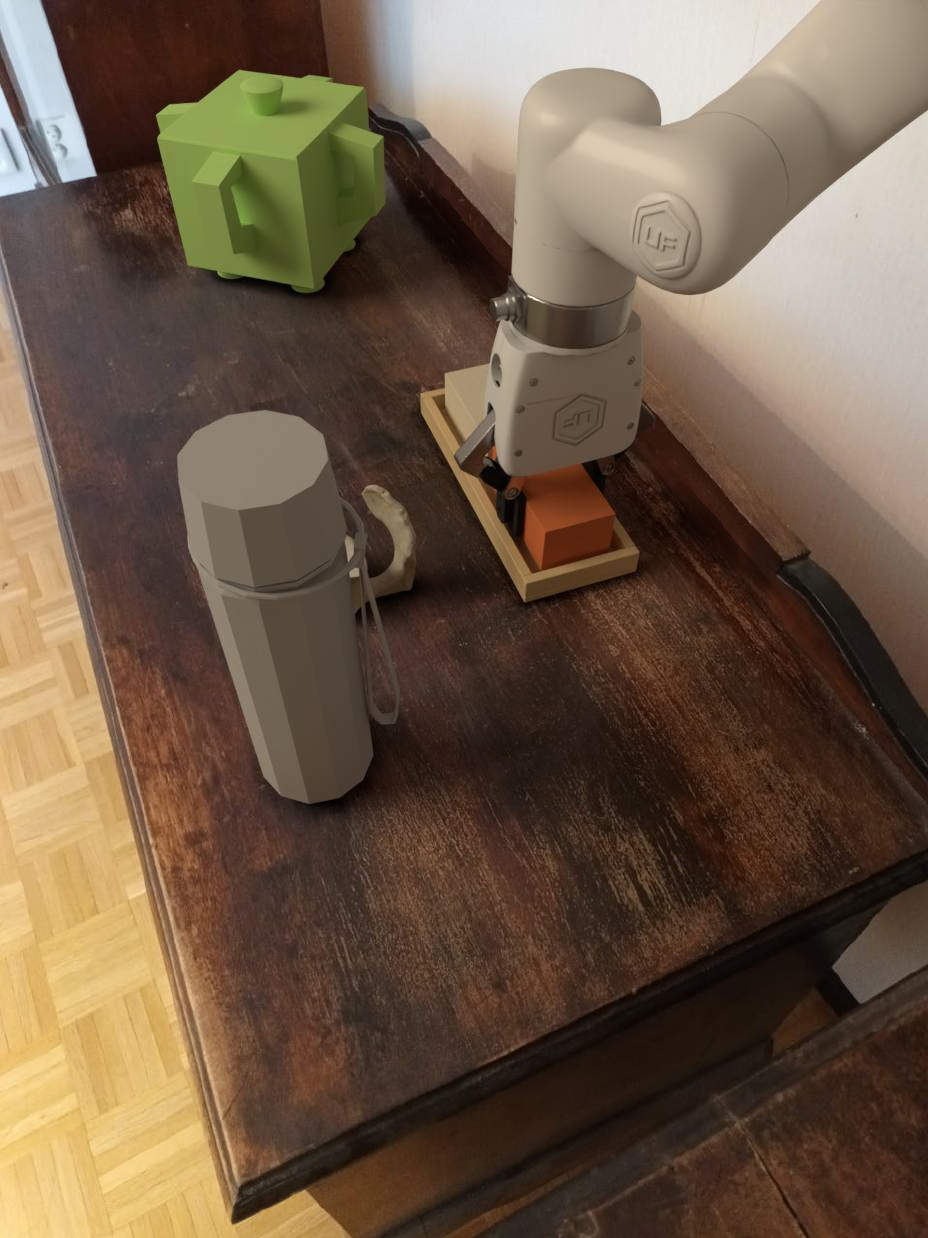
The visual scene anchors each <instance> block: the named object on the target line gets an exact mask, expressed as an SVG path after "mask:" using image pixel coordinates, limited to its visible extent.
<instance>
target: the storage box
mask: <svg viewBox="0 0 928 1238" xmlns="http://www.w3.org/2000/svg"><path fill="white" fill-rule="evenodd" d="M367 94H368V93H367V89H366V88H365V86H358V85H350V84H343V83H337V82H334V80H333V77H327V76H320V75H313V74H312V75H311V74H308V75H305V76H303V77H294V76H289V75H281V74H280V75H279V74H272V73H271V74H270V73H265V72H256V71H250V70H249V71H248V70H242V69H238V70H237V71H235V72H234V73H232V75H230V76H229V77H228V78H226V79H225V80H224V81H223V82H221V83H220V84H218V86H217V87H215V88H214V89H213V90H211V91H210V92H209V93H208V94H206V95H205V96H204V97H203V98H201V99H200V100H199V101H198V102H187V103H186V102H185V103H171V104H168V105H167V106H165V107H164V108H163V109H162V110H161V111H159V112H158V113H157V114H155V118H156V122H157V124H158V128H159V132H160V133H159V134H158V136H157V137H156V140H157V144H158V149H159V152H160V153H159V154H160V157H161V161H162V166H163V169H164V172H165V178H166V182H167V186H168V189H169V194H170V198H171V202H172V206H173V211H174V214H175V218H176V219H175V220H176V222H177V227H178V230H179V235H180V239H181V245H182V248H183V251H184V255H185V259H186V264H187V266H189V267H193V268H199V269H204V270H211V271H216V272H217V275H218V276H219V277H221V278H223V279H228V280H235V279H241V278H243V277H249V278H254V279H259V280H264V281H269V282H275V283H281V284H286V285H290V286H291V287H290V288H292V290H294V291H296V292H298V293H302V294H310V293H311V294H312V293H314V292H318V291H320V290H322V289H323V287H325V283H326V282H325V279H324V277H325V276H326V275H327V273H329V271H330V270H331V269H332V267H333V266H334V265H335V263H336V262H337V261H338V260H339V258H340V257H341V256H342V255H343V253H346V252H348V251H351V250H353V249H354V248H356V247H355V246H356V241H355V238H356V237H357V236H358V234H359V233H360V232H361V230H363V228H364V227H365V225H367V223H368V222H369V220H370V219H371V218H373V217H376V216H377V215H378V214H379V213H380V211H381V210H382V209H383V207H384V206H385V205H386V202H387V201H386V176H385V175H386V171H385V169H386V168H385V144H384V143H385V139H384V135H381V134H378V133H375V132H372V131H370V123H369V108H368V96H367Z"/></svg>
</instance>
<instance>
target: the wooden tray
mask: <svg viewBox="0 0 928 1238" xmlns="http://www.w3.org/2000/svg"><path fill="white" fill-rule="evenodd" d="M419 398H420V413H421V415H422V417H423V419H424V421H425V423H426V424H427V426H428V428H429V430H430V431H431V433H432V435H433V438H434V439H435V441H436V443H437V444H438V446H439V448H440V450H441V452H442V454H443V456H444V457H445V459H446V461H447V463H448V465H449V466H450V469H451V470H452V472H453V474H454V476H455V477H456V480H457V481H458V483H459V485H460V487H461V489H462V490H463V492H464V494H465V496H466V498H467V500H468V502H469V503H470V505H471V507H472V509H473V511H474V512H475V514H476V516H477V518H478V520H479V522H480V523H481V525H482V527H483V529H484V531H485V532H486V535H487V536H488V539H489V540H490V542H491V544H492V546H493V547H494V549H495V552H496V553H497V555H498V557H499V559H500V560H501V562H502V564H503V565H504V568H505V569H506V571H507V573H508V575H509V577H510V579H511V580H512V582H513V584H514V586H515V588H516V589H517V590H516V591H518V594H519V595H520V597H521V600H522V601H523V602H524V603H528V602H533V601H537V600H539V599H543V598H547V597H551V596H553V595H556V594H557V595H558V594H560V593H564V592H567V591H571V590H575V589H577V588H578V589H579V588H581V587H585V586H589V585H592V584H596V583H600V582H602V581H607V580H610V579H613V578H618V577H621V576H625V575H628V574H632V573H635V572H637V567H638V562H639V558H640V550H639V549H638V547H637V546H636V545H635V542H634V541H633V540H632V538H631V537H630V536H629V534H628V533H627V531H626V529H625V528H624V527H623V525H622V524H621V523H620V520H619V519H618V518H617V516H616V515H615V520H614V525H613V531H612V537H611V542H610V548H609V552H608V553H605V554H601V555H598V556H594V557H590V558H587V559H583V560H579V561H576V562H572V563H569V564H565V565H561V566H558V567H554V568H551V569H547V570H543V571H541V570H540V568H539V566H538V564H537V563H536V561H535V559H534V558H533V556H532V554H531V552H530V551H529V549H528V547H527V545H526V544H525V542H524V540H523V538H522V537H521V536H519V537H514V536H513V534H512V532H511V530H510V529H509V527H508V525H507V523H504V524H502V523H501V522H500V520H499V518H498V516H497V512H496V495H497V493H496V492H495V490H494V488H493V487H491V486H489V485H487V484H486V483H484V482H483V480H482V479H480V478H478V477H477V478H476V477H474V476H472V475H470V474H468V473H466V472H463V471H462V470H460V468H459V466H458V464H457V462H456V461H455V459H454V454H455V453H456V451H457V450H458V449H459V448H460V447H461V445H462V444H463V442H462V440H461V438H460V436H459V435H458V433H457V431H456V429H455V428H454V426H453V424H452V422H451V421H450V419H449V417H448V415H447V414H446V412H445V387H442V388H439V389H434V390H429V391H425V392H421V393H420V397H419Z"/></svg>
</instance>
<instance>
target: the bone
mask: <svg viewBox="0 0 928 1238" xmlns="http://www.w3.org/2000/svg"><path fill="white" fill-rule="evenodd" d="M361 496H362V499H363V500H364V502H365V504H366V506H367V508H368V509H369V511H370V512H371V514H372V515H373V516H374V517H375V518H376V519H377V520H379V521H380V522H382V523H383V525H385V527H386V528H387V529H388V531H389V533H390V535H391V538H392V541H393V546H394V555H393V559H392V562H391V563H390V565H389V566H388V568H387V569H386V570H385V571H383V572H382V573H381V574H379V575H377V576H374V577H369V580H370V583H371V587H372V591H373V594H374V598H375V599H376V598H377V599H378V598H381V597H384V596H389V595H393V594H396V593H401V592H404V591H405V592H407V591H411V590H412V588H413V583H414V579H415V574H416V568H417V567H416V566H417V554H416V553H417V549H416V548H417V547H416V546H417V534H416V532H415V529H414V527H413V523H412V522H411V519H410V517H409V513H408V511H407V510H406V508H405V507H404V505H403V504H402V503H400V502H399V501H398V500H396V499H394V498H393V496H392V495H391V493H390V492H389V490H387V489H386V488H384V487H382V486H380V485H377V484H369V485H367V486H366V487H365V488H364V489H363V491H362V492H361ZM354 541H355V538H353V537H351V536H349V535H348V534H346V539H345V545H346V551H347V558H348V562H349V560H350V559H351V557H352V556H353V554H354ZM364 562H365V566H366V569H367V570H368V561H367V558H366V556H365V557H364ZM349 574H350V581H351V589H352V596H353V604H354V611H355V614H357V612H358V610H360V608H361V596H360V581H359V568H354V569H353V570H351V571H350V572H349ZM363 584H364V596H365V604H366V603H368V602H370V601H369V597H368V593H367V590H366V586H365V582H364V579H363Z"/></svg>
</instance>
